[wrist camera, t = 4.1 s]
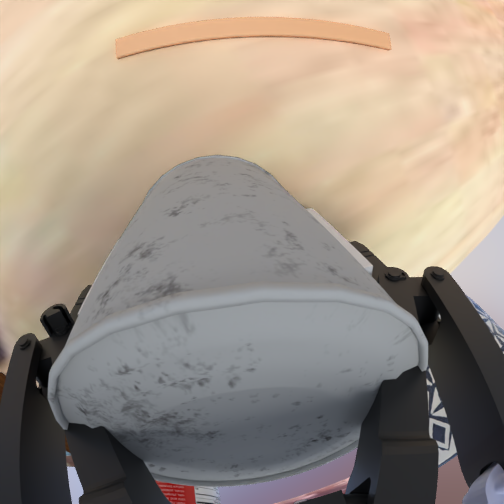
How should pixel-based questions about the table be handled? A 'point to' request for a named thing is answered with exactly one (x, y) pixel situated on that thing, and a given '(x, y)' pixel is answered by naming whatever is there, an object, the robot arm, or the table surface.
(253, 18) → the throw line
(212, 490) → the soda can
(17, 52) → the table surface
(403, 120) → the table surface
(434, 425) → the planter
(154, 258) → the grey concrete cylinder
